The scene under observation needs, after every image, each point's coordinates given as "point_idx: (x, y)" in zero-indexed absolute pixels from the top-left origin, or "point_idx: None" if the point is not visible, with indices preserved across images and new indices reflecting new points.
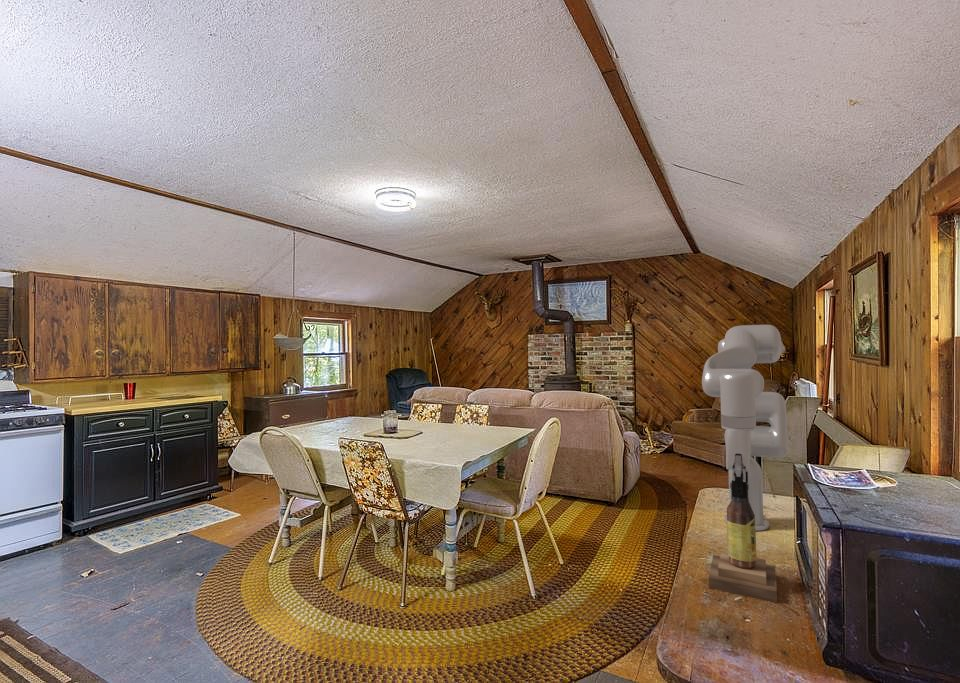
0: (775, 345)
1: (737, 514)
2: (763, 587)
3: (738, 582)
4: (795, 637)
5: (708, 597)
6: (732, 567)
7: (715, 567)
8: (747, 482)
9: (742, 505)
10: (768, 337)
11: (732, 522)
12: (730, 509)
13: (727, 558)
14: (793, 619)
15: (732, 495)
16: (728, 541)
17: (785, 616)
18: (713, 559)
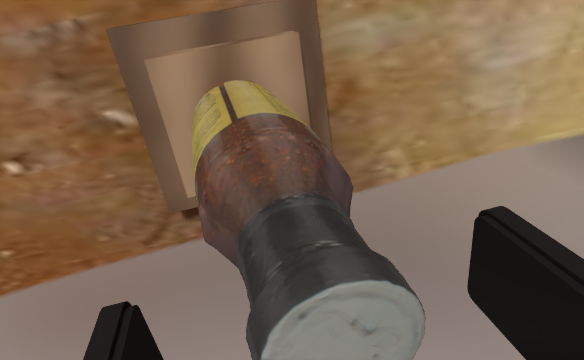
0: None
1: (200, 213)
2: (169, 183)
3: (149, 121)
4: (30, 261)
5: (48, 42)
6: (184, 102)
7: (211, 29)
8: (493, 315)
9: (235, 264)
10: None
11: (200, 161)
12: (217, 178)
13: (251, 68)
14: (114, 241)
15: (99, 315)
16: (211, 103)
17: (115, 226)
18: (275, 5)
